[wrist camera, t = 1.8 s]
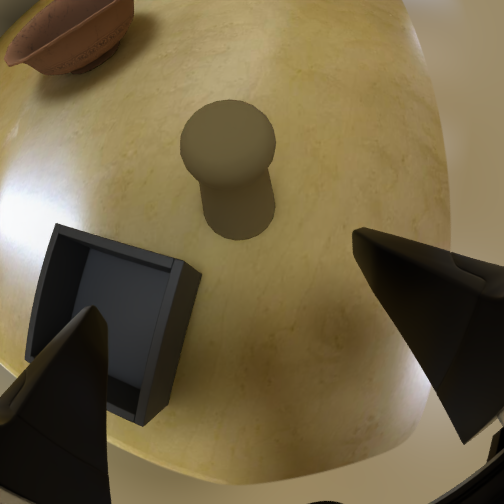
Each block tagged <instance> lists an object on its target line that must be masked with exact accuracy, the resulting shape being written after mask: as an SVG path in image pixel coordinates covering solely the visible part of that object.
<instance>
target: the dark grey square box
mask: <svg viewBox="0 0 504 504" xmlns="http://www.w3.org/2000/svg"><path fill="white" fill-rule="evenodd" d="M201 276H202V274H201V273H200V272H198V271H197V270H195V269H194V268H193V267H191V266H190V265H189V264H187V263H186V262H185V261H183V260H179V259H175V258H172V257H169V256H165V255H162V254H158V253H155V252H151V251H148V250H144V249H141V248H137V247H134V246H130V245H127V244H123V243H120V242H117V241H113V240H110V239H107V238H103V237H100V236H97V235H93V234H90V233H87V232H84V231H80V230H77V229H74V228H71V227H67V226H64V225H61V224H58V223H56V224H55V227H54V230H53V233H52V236H51V239H50V242H49V245H48V248H47V251H46V255H45V258H44V262H43V265H42V269H41V273H40V276H39V280H38V284H37V289H36V293H35V297H34V302H33V307H32V312H31V317H30V323H29V329H28V336H27V343H26V351H25V360H26V361H27V362H29V363H31V362H32V361H33V360H34V359H35V358H36V357H37V356H38V355H39V353H40V352H41V351H42V350H43V349H44V348H45V347H46V346H47V345H48V344H49V343H50V342H51V341H52V340H53V338H54V337H55V336H56V335H57V334H58V333H59V332H60V331H61V330H62V329H63V328H64V327H65V326H66V325H67V324H68V323H69V322H70V321H71V320H72V319H73V318H74V317H75V316H76V315H77V314H78V313H79V312H80V311H81V310H82V309H83V308H84V307H87V306H91V305H94V306H96V307H97V308H98V310H99V311H100V313H101V314H102V316H103V317H104V319H105V320H106V322H107V324H108V382H107V410H108V411H110V412H112V413H114V414H116V415H118V416H120V417H122V418H124V419H126V420H129V421H131V422H134V423H135V424H138V425H140V426H142V427H143V426H145V425H146V424H147V423H148V422H149V421H150V420H151V419H152V418H154V417H155V416H156V415H157V414H158V413H159V412H160V411H161V410H162V409H164V408H165V407H166V406H167V405H168V403H169V398H170V394H171V390H172V386H173V382H174V377H175V373H176V369H177V365H178V361H179V357H180V353H181V349H182V346H183V342H184V338H185V334H186V330H187V327H188V323H189V319H190V315H191V312H192V308H193V305H194V301H195V297H196V294H197V290H198V287H199V283H200V280H201Z"/></svg>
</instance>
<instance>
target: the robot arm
mask: <svg viewBox="0 0 504 504" xmlns="http://www.w3.org/2000/svg"><path fill="white" fill-rule="evenodd" d="M352 243H353V255H354V258H355V260H356V262H357V263H358V265H359V267H360V269H361V271H362V273H363V274H364V276H365V278H366V280H367V282H368V284H369V286H370V287H371V289H372V291H373V293H374V294H375V296H376V297H377V299H378V300H379V302H380V303H381V305H382V306H383V308H384V309H385V311H386V312H387V314H388V315H389V317H390V318H391V320H392V321H393V323H394V324H395V326H396V327H397V329H398V330H399V332H400V334H401V335H402V337H403V338H404V340H405V341H406V343H407V345H408V346H409V348H410V349H411V351H412V353H413V354H414V356H415V358H416V359H417V361H418V363H419V364H420V366H421V368H422V369H423V371H424V373H425V374H426V376H427V378H428V379H429V381H430V383H431V385H432V386H433V388H434V390H435V391H436V393H437V396H438V397H439V399H440V401H441V403H442V405H443V407H444V408H445V410H446V412H447V414H448V416H449V418H450V420H451V422H452V424H453V425H454V427H455V429H456V431H457V433H458V435H459V437H460V439H461V441H462V443H463V444H464V445H465V444H466V443H467V442H469V441H470V440H471V439H473V438H474V437H475V436H477V435H478V434H479V433H481V432H482V431H483V430H484V429H485V428H487V427H488V426H489V425H490V424H492V423H493V422H494V421H495V420H496V419H497V418H498V419H499V421H500V422H501V424H502V426H503V428H501V429H500V430H499V431H498V432H497V433H496V434H495V435H493V438H492V442H491V447H490V451H489V455H488V459H487V463H486V464H485V465H484V466H483V467H481V468H480V469H479V470H478V471H476V472H475V473H474V474H472V475H471V476H470V477H468V478H467V479H466V480H464V481H463V482H462V483H460V484H458V485H457V486H456V487H454V488H453V489H451V490H450V491H448V492H447V493H445V494H444V495H442V496H440V497H439V498H437V499H435V500H434V501H432V502H431V503H429V504H504V267H503V266H499V265H496V264H492V263H488V262H484V261H480V260H477V259H473V258H470V257H466V256H463V255H460V254H456V253H453V252H451V253H450V251H447V250H444V249H440V248H437V247H434V246H430V245H427V244H423V243H420V242H416V241H413V240H409V239H406V238H402V237H399V236H395V235H392V234H388V233H384V232H380V231H377V230H373V229H369V228H365V227H362V228H359V229H356V230H354V231H353V233H352ZM107 382H108V324H107V322H106V320H105V319H104V317H103V316H102V314H101V313H100V311H99V310H98V308H97V307H96V306H94V305H91V306H87V307H84V308H83V309H82V310H81V311H80V312H79V313H78V314H77V315H76V316H75V317H74V318H73V319H72V320H71V321H70V322H69V323H68V324H67V325H66V326H65V327H64V328H63V329H62V330H61V331H60V332H59V333H58V334H57V335H56V336H55V337H54V338H53V340H52V341H51V342H50V343H49V344H48V345H47V346H46V347H45V348H44V349H43V350H42V351H41V352H40V353H39V355H38V356H37V357H36V358H35V359H34V360H33V361H32V362H31V363H30V364H29V366H28V367H27V368H26V369H25V370H24V371H23V372H22V373H21V375H20V376H19V377H18V378H17V379H16V380H15V381H14V382H13V384H12V385H11V386H10V387H9V388H8V389H7V390H6V391H5V392H4V393H3V395H2V396H1V397H0V504H111V496H110V487H109V476H108V462H107V434H106V411H107Z"/></svg>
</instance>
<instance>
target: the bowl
mask: <svg viewBox="0 0 504 504" xmlns="http://www.w3.org/2000/svg"><path fill="white" fill-rule="evenodd" d="M133 17H134V0H54V1H53V2H51V3H50V4H49V5H47V6H46V7H45V8H44V9H42V10H41V11H40V12H39V13H38V14H36V15H35V16H34V17H33V18H32V19H31V20H30V21H29V22H28V23H27V24H26V25H25V26H24V27H23V28H22V29H21V31H20V32H19V33H18V34H17V36H16V37H15V38H14V39H13V41H12V42H11V43H10V45H9V46H8V49H7V51H6V54H5V57H4V60H5V62H6V63H7V65H8V66H9V67H11V66H14V65H17V64H20V63H25V64H28V65H29V66H31V67H33V68H34V69H36V70H37V71H39V72H40V73H42V74H45V75H59V74H66V73H69V72H71V73H72V74H81V73H84V72H87V71H90V70H92V69H94V68H95V67H97V66H99V65H101V64H102V63H103V62H105V61H106V60H107V59H108V58H110V57H111V56H112V55H113V53H114V52H115V51H116V50H117V48H118V46H119V44H120V41H119V40H120V39H121V38H122V37H123V36H124V35H125V34H126V32H127V30H128V28H129V26H130V24H131V22H132V20H133Z"/></svg>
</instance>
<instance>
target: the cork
mask: <svg viewBox="0 0 504 504" xmlns="http://www.w3.org/2000/svg"><path fill="white" fill-rule="evenodd" d="M275 147H276V140H275V134H274V129H273V127H272V124H271V123H270V121H269V120H268V118H267V117H266V115H265V114H263V113H262V112H261V111H260V110H258V109H257V108H256V107H254V106H253V105H251V104H248V103H246V102H243V101H238V100H222V101H216V102H213V103H210V104H208V105H205V106H204V107H202V108H201V109H199V110H198V111H196V112H195V113H194V114H193V115H192V117H191V118H190V119H189V120H188V121H187V123H186V124H185V127H184V129H183V131H182V134H181V140H180V154H181V156H182V159H183V162H184V164H185V166H186V168H187V170H188V171H189V172H190V173H191V174H192V175H193V176H194V178H195V179H196V180H198V181H199V184H200V191H201V198H202V204H203V211H204V216H205V218H206V221H207V223H208V225H209V226H210V227H211V228H212V229H213V230H214V232H215V233H217V234H219V235H221V236H222V237H224V238H228V239H232V240H244V239H249V238H252V237H254V236H257V235H259V234H260V233H261V232H262V231H263V230H265V229H266V228H267V227H268V225H269V224H270V222H271V220H272V219H273V216H274V211H275V200H274V194H273V190H272V185H271V181H270V176H269V172H268V167H269V165H270V164H271V162H272V161H273V156H274V152H275Z"/></svg>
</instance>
